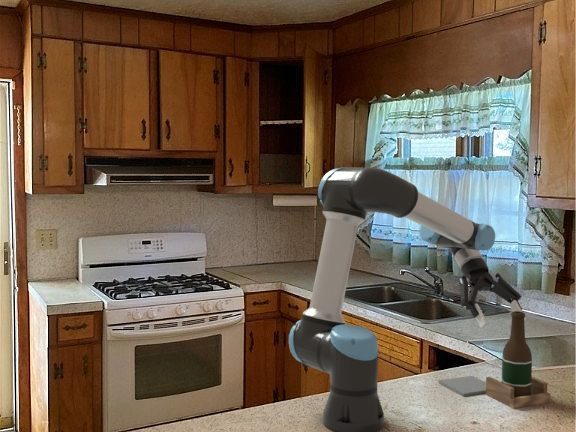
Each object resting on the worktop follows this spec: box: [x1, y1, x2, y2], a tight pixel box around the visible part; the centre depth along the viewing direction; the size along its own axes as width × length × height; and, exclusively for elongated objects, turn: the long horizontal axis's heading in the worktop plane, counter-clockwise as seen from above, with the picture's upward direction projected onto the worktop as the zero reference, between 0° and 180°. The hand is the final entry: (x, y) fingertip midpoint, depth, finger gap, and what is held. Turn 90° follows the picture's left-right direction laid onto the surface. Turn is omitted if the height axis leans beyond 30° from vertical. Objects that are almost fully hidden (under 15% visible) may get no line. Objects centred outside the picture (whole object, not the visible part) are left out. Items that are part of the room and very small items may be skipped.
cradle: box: [485, 376, 551, 409], centre depth 173 cm, size 12×11×5 cm
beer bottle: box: [501, 311, 533, 397], centre depth 173 cm, size 8×8×24 cm
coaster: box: [438, 375, 486, 397], centre depth 183 cm, size 12×12×1 cm
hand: (503, 323), depth 180 cm, fingers open, 13 cm apart
